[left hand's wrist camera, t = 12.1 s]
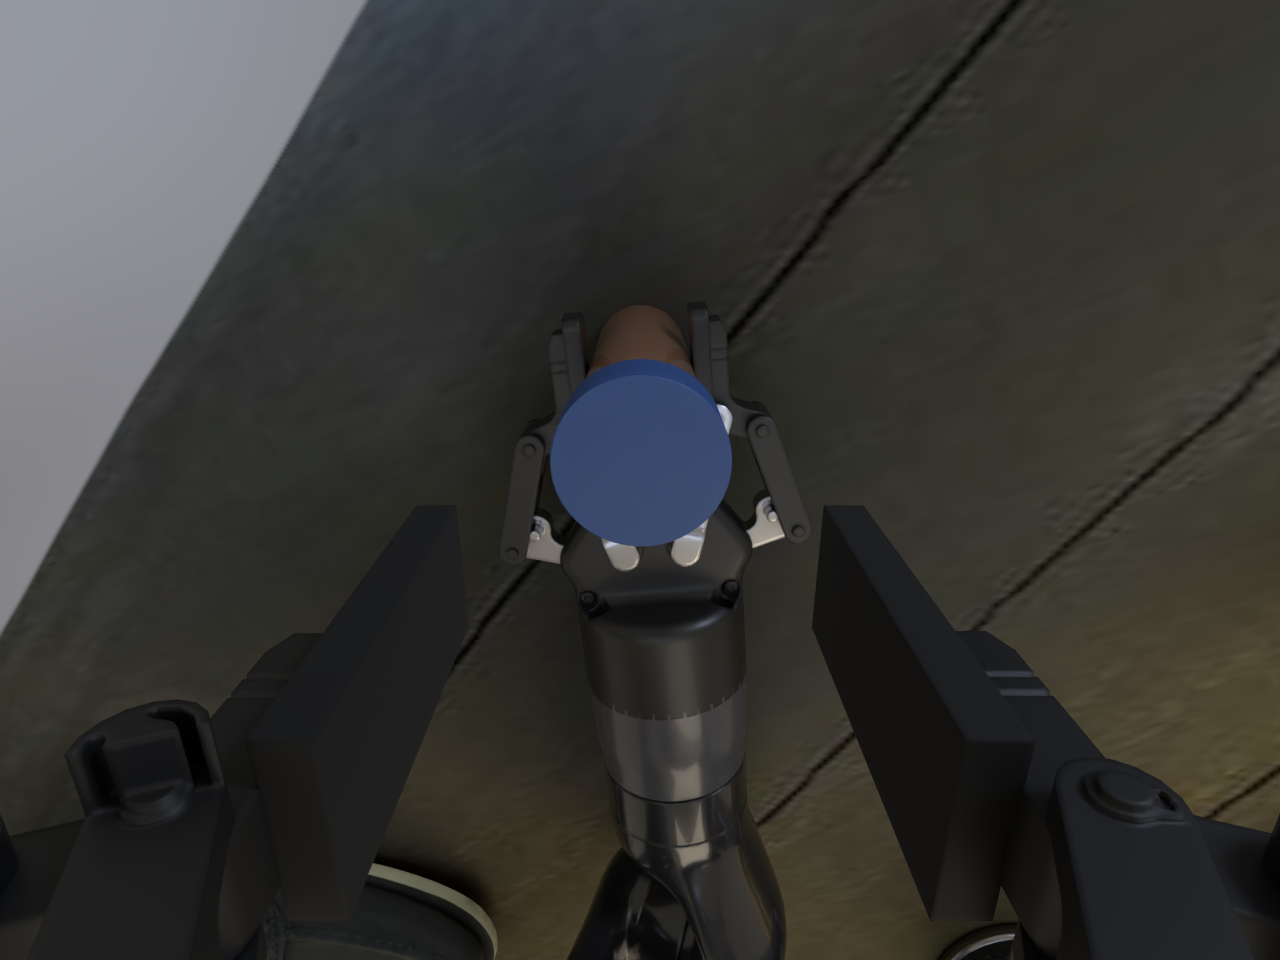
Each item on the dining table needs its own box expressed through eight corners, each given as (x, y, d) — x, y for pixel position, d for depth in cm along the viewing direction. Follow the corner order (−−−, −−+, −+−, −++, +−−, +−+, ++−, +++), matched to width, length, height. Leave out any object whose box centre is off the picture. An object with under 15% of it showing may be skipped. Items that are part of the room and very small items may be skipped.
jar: (699, 328, 35) (744, 424, 20) (660, 405, 37) (675, 550, 21) (619, 289, 35) (603, 358, 19) (583, 369, 36) (541, 492, 21)
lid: (753, 402, 22) (765, 423, 20) (678, 540, 23) (681, 573, 21) (599, 329, 21) (594, 342, 19) (532, 477, 22) (521, 504, 20)
